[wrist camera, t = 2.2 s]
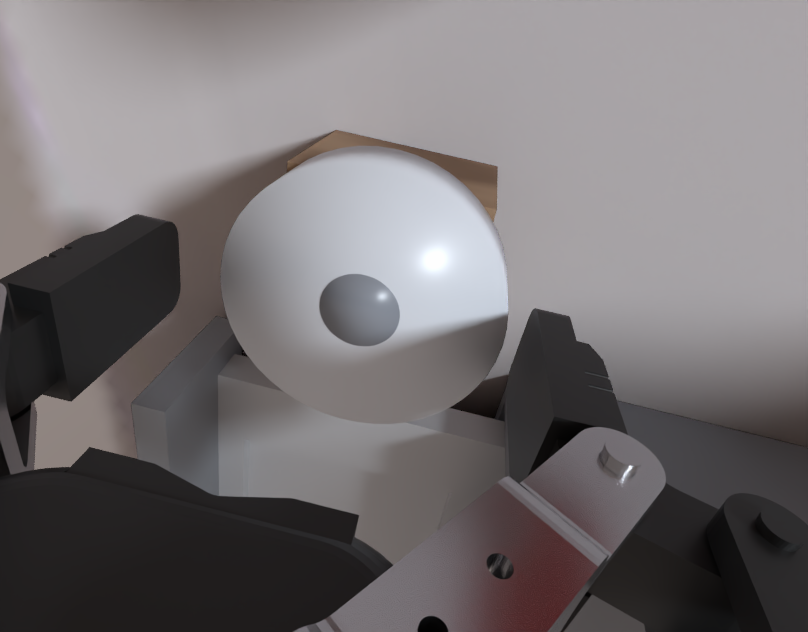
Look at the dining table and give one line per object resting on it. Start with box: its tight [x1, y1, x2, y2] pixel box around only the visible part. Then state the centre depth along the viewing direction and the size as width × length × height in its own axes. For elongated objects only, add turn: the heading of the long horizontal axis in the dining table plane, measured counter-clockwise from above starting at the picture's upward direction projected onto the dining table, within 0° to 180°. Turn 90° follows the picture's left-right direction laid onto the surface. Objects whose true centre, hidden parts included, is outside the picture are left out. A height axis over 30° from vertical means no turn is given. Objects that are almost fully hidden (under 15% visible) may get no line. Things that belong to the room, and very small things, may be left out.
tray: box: [131, 316, 505, 565], centre depth 20 cm, size 16×15×5 cm
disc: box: [220, 146, 508, 424], centre depth 12 cm, size 6×6×2 cm
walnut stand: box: [287, 130, 497, 221], centre depth 14 cm, size 5×5×4 cm
